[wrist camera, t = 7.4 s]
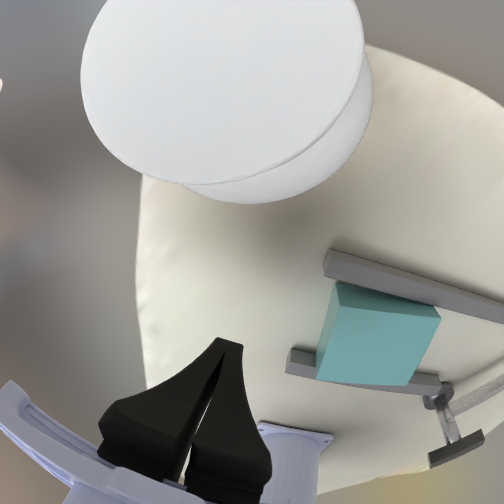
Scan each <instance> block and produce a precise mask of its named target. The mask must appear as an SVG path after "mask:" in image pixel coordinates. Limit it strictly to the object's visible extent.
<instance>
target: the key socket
mask: <svg viewBox="0 0 504 504" xmlns="http://www.w3.org/2000/svg"><path fill="white" fill-rule="evenodd" d="M441 385H442V388H441V389H440V390H439V391H438V393H437V394H436V395H435V396H429V395H424V396H423V402H424V406H425V408H426V409H428V410H434V409H435V406H434V403H433V402H434V400H435V399H436V398H437V397H439V396H441V395H446V397H447V400H448V402H449V401H450V400H451V399H452V397H453V395H454V390H453V387H452V385H451V384H450V383H449V382H441Z"/></svg>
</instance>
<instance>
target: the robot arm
mask: <svg viewBox="0 0 504 504" xmlns="http://www.w3.org/2000/svg"><path fill="white" fill-rule="evenodd" d="M243 348H244V346H243V345H242V344H239V343H235V342H232V341H229V340H225V339H222V338H219V337H217V338H215V340H214V341H213V342H212V343H211V345H210V346H209V347H208V348H207V349H206V350H205V351H204V352H203V353H202V354H201V355H200V356H199V357H198V358H196V359H195V360H194V361H193V362H192V363H191V364H189V365H188V366H187V367H186V368H184V369H183V370H182V371H180V372H179V373H177V374H176V375H174V376H173V377H171V378H170V379H168V380H166V381H165V382H163V383H161V384H159V385H157V386H155V387H153V388H151V389H149V390H146V391H144V392H141V393H139V394H137V395H133V396H130V397H127V398H124V399H120V400H117V401H115V402H114V403H113V404H112V405H111V406H110V407H109V408H108V409H107V410H106V412H105V413H104V415H103V416H102V418H101V419H100V421H99V422H98V425H99V429H100V431H101V433H102V435H103V438H104V440H103V442H102V444H101V445H100V447H99V448H98V447H96V446H94V445H93V444H91V443H90V442H88V441H86V440H85V439H83V438H81V437H80V436H78V435H76V434H75V433H73V432H72V431H70V430H69V429H67V428H65V427H64V426H62V425H61V424H59V423H58V422H57V421H55V420H54V419H52V418H51V417H50V416H48V415H47V414H45V413H44V412H43V411H41V410H40V409H39V408H38V407H36V406H35V405H34V404H33V403H31V401H30V399H29V397H28V395H27V394H26V393H25V392H24V391H23V390H22V389H21V388H20V387H19V386H18V385H16V384H15V383H14V382H13V381H12V380H9V381H8V382H7V383H6V384H5V385H4V387H3V388H2V389H1V390H0V428H1V430H2V431H3V432H4V433H5V434H6V435H7V436H8V437H9V438H10V439H11V440H12V441H13V442H14V443H15V444H17V445H18V446H19V447H20V448H21V449H22V450H23V451H24V452H25V453H27V454H28V455H29V456H30V457H31V458H33V459H34V460H35V461H36V462H38V464H40V465H41V466H42V467H43V468H45V469H46V470H47V471H49V472H50V473H51V474H52V475H54V476H55V477H57V478H58V479H59V480H61V481H62V482H64V483H65V484H66V485H68V486H69V487H71V490H70V491H69V493H68V495H67V496H66V498H65V500H64V501H63V503H62V504H316V494H317V480H318V461H319V454H320V453H321V452H322V451H323V450H324V449H325V448H326V447H327V446H328V445H329V444H330V442H331V441H332V440H333V435H331V434H323V433H317V432H310V431H304V430H298V429H293V428H288V427H283V426H278V425H273V424H269V423H264V422H260V423H258V425H257V426H256V424H255V421H254V419H253V416H252V414H251V410H250V407H249V404H248V400H247V396H246V391H245V386H244V379H243V369H242V354H243ZM210 400H211V401H210ZM209 402H210V403H209ZM208 404H209V405H208ZM207 406H208V408H207ZM206 408H207V410H206ZM205 410H206V412H205ZM204 412H205V415H204V417H203V419H202V421H201V423H200V420H201V418H202V416H203V414H204ZM199 423H200V426H199V428H198V425H199ZM197 428H198V430H197ZM196 430H197V432H196ZM195 433H196V434H195ZM191 444H192V445H191ZM190 447H191V452H190V459H189V463H188V466H187V469H186V471H185V474H184V475H185V480H184V485H181V484H179V483H178V481H179V478H180V475H181V472H182V469H183V466H184V464H185V461H186V458H187V455H188V452H189V450H190Z"/></svg>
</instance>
